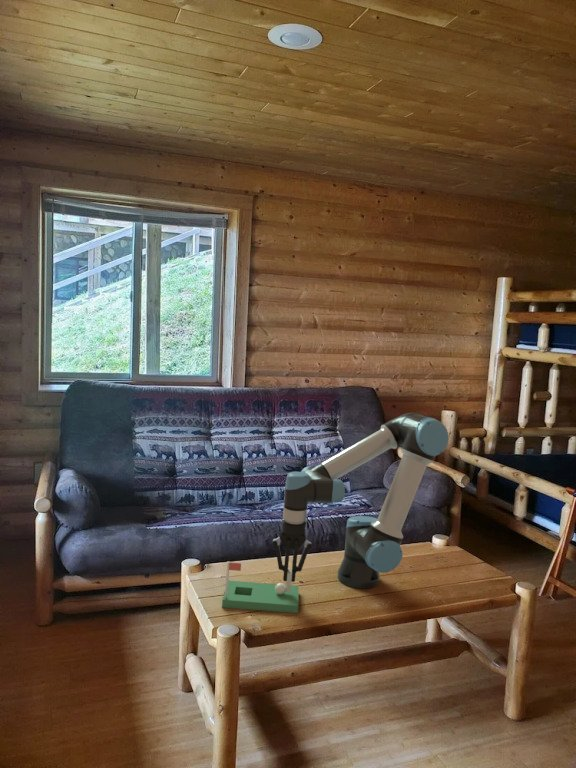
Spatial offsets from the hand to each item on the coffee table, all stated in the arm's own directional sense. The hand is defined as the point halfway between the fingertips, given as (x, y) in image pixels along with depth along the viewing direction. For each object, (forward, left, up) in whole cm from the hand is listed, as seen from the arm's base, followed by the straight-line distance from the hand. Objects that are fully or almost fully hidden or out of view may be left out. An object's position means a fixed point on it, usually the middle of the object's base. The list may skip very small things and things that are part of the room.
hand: (288, 590), depth 192 cm
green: (+9, 0, -4) cm, 9 cm away
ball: (+3, 0, 0) cm, 3 cm away
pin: (+18, +6, -2) cm, 19 cm away
